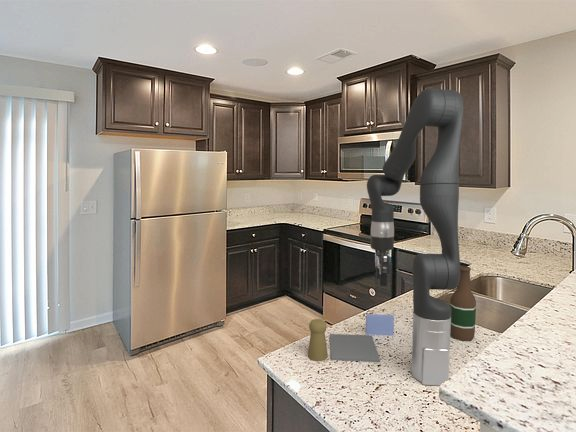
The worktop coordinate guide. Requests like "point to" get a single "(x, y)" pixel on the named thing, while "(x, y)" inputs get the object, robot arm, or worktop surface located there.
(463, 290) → the beer bottle
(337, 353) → the mat
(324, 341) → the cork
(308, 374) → the worktop surface
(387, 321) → the card deck
